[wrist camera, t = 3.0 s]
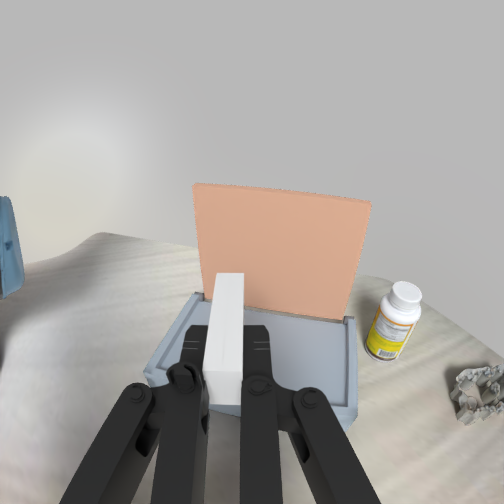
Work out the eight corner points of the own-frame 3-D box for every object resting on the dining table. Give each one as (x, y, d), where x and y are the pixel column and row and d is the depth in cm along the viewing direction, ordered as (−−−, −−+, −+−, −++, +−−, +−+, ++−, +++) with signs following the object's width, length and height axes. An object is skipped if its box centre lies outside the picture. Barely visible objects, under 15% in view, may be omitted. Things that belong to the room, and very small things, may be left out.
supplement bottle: (384, 330, 36) (407, 273, 31) (406, 355, 32) (436, 298, 27) (356, 342, 35) (377, 282, 30) (378, 370, 30) (407, 311, 25)
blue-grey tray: (152, 390, 28) (142, 371, 26) (198, 311, 40) (195, 289, 38) (345, 431, 23) (357, 416, 21) (348, 335, 36) (355, 315, 34)
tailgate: (205, 298, 38) (192, 186, 29) (208, 291, 39) (197, 181, 30) (342, 319, 34) (371, 205, 25) (342, 312, 35) (369, 199, 26)
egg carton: (455, 430, 20) (473, 413, 18) (444, 384, 27) (459, 365, 25) (507, 416, 19) (524, 399, 17) (494, 377, 25) (508, 359, 23)
